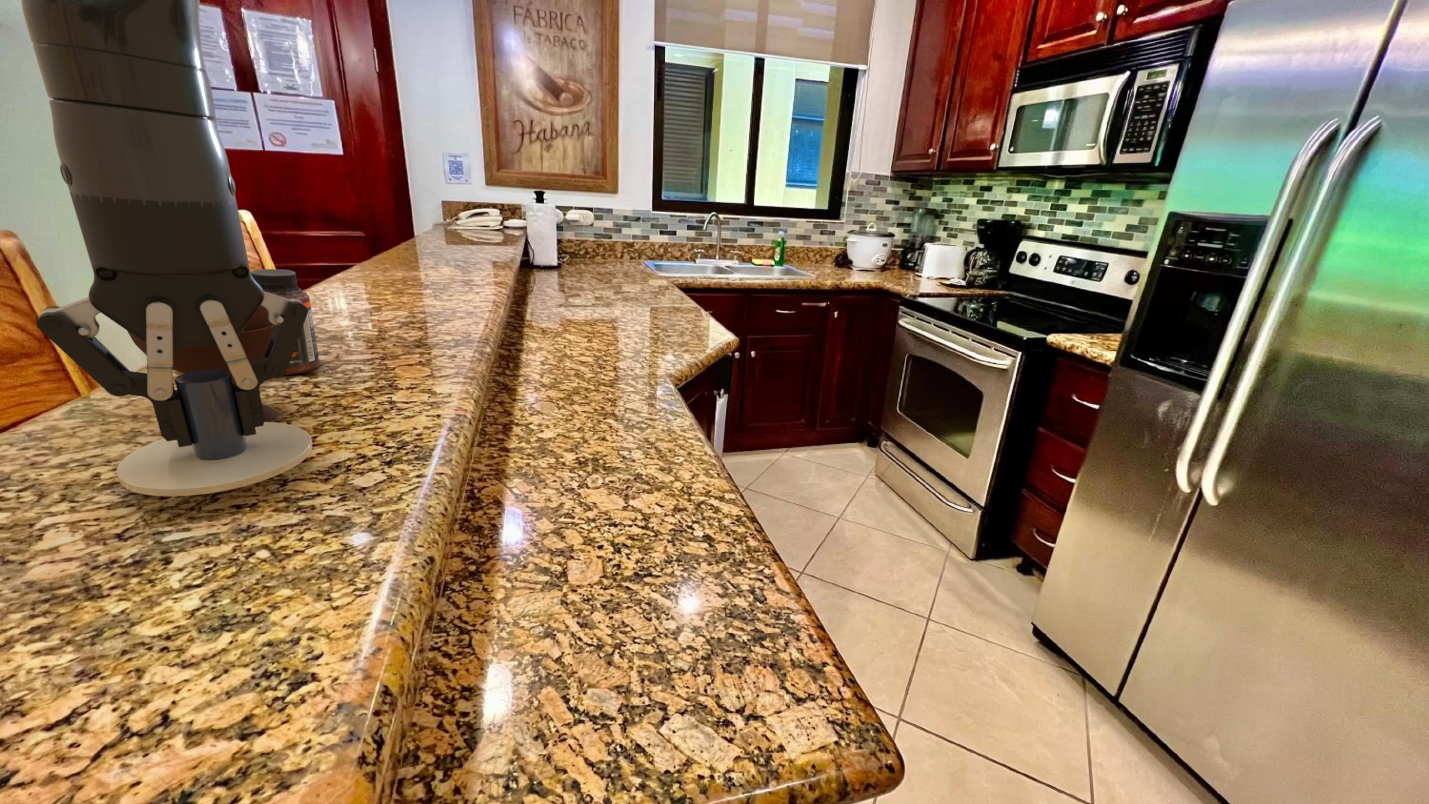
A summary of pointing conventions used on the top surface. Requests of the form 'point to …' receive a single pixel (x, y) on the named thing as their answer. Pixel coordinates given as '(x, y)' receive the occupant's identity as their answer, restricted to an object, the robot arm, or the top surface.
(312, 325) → the supplement bottle
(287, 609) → the top surface
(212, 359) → the ice cream bowl
